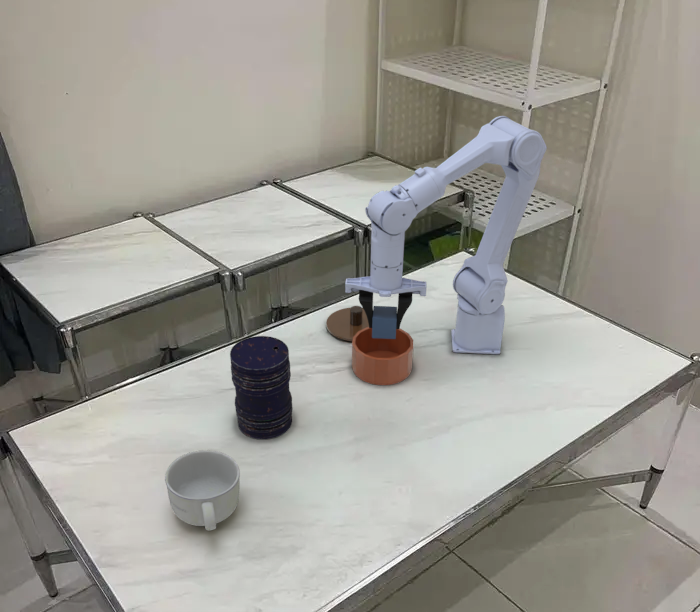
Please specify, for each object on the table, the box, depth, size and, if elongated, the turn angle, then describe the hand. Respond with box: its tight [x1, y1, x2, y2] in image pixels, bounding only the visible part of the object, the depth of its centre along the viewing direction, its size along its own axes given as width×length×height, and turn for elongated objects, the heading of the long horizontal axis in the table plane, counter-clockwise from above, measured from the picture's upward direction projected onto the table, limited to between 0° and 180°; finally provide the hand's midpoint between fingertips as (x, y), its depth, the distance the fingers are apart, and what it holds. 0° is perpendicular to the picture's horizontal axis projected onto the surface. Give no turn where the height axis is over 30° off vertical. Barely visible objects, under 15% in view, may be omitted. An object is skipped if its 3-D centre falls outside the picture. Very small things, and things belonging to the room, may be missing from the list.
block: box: [372, 305, 398, 339], centre depth 134 cm, size 4×4×4 cm
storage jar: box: [229, 335, 293, 441], centre depth 123 cm, size 10×10×15 cm
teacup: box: [164, 449, 241, 531], centre depth 107 cm, size 14×11×8 cm
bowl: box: [351, 327, 414, 386], centre depth 139 cm, size 12×12×6 cm
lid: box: [325, 305, 369, 342], centre depth 151 cm, size 13×13×4 cm
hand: (384, 325), depth 135 cm, fingers closed on block, 4 cm apart
